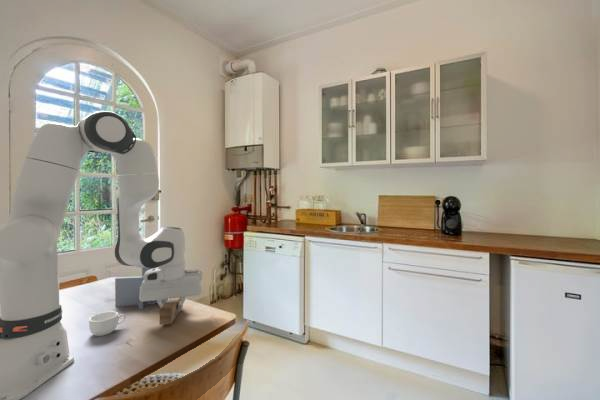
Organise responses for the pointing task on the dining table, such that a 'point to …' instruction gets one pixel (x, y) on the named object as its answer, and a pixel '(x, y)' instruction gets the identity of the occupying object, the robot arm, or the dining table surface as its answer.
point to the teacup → (104, 322)
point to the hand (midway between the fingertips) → (171, 309)
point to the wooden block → (169, 310)
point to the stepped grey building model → (131, 291)
